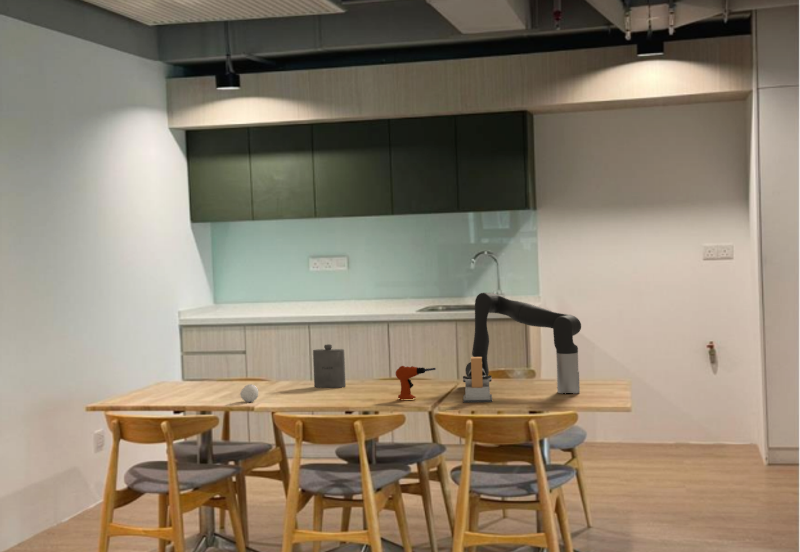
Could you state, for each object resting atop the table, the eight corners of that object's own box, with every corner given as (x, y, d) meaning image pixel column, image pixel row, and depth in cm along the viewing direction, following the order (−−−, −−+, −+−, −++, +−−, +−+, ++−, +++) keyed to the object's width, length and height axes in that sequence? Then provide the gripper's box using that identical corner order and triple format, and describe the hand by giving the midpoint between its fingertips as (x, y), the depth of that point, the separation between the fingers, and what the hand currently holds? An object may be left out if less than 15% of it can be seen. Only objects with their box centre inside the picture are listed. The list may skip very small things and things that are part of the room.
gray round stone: (249, 399, 470) (249, 382, 469) (262, 401, 465) (262, 383, 465) (237, 402, 463) (236, 385, 463) (250, 403, 459) (249, 386, 459)
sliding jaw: (489, 394, 453) (488, 378, 452) (489, 396, 450) (489, 379, 449) (465, 395, 453) (465, 379, 453) (465, 396, 450) (465, 380, 450)
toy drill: (438, 397, 448) (432, 362, 448) (396, 402, 455) (391, 367, 455) (441, 396, 453) (436, 361, 453) (400, 400, 459) (395, 366, 459)
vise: (491, 396, 456) (491, 382, 456) (492, 402, 442) (491, 387, 442) (463, 397, 457) (463, 383, 457) (463, 402, 443) (462, 388, 443)
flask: (312, 388, 498) (310, 345, 497) (316, 386, 504) (314, 344, 503) (343, 388, 495) (341, 345, 494) (346, 386, 500) (345, 343, 500)
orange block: (482, 396, 450) (481, 356, 449) (483, 398, 445) (481, 358, 445) (472, 397, 450) (471, 357, 449) (472, 398, 446) (471, 358, 445)
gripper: (461, 367, 470) (461, 373, 453) (491, 367, 469) (492, 372, 452) (462, 384, 471) (461, 390, 453) (492, 384, 470) (493, 390, 452)
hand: (477, 381), depth 453 cm, fingers closed
